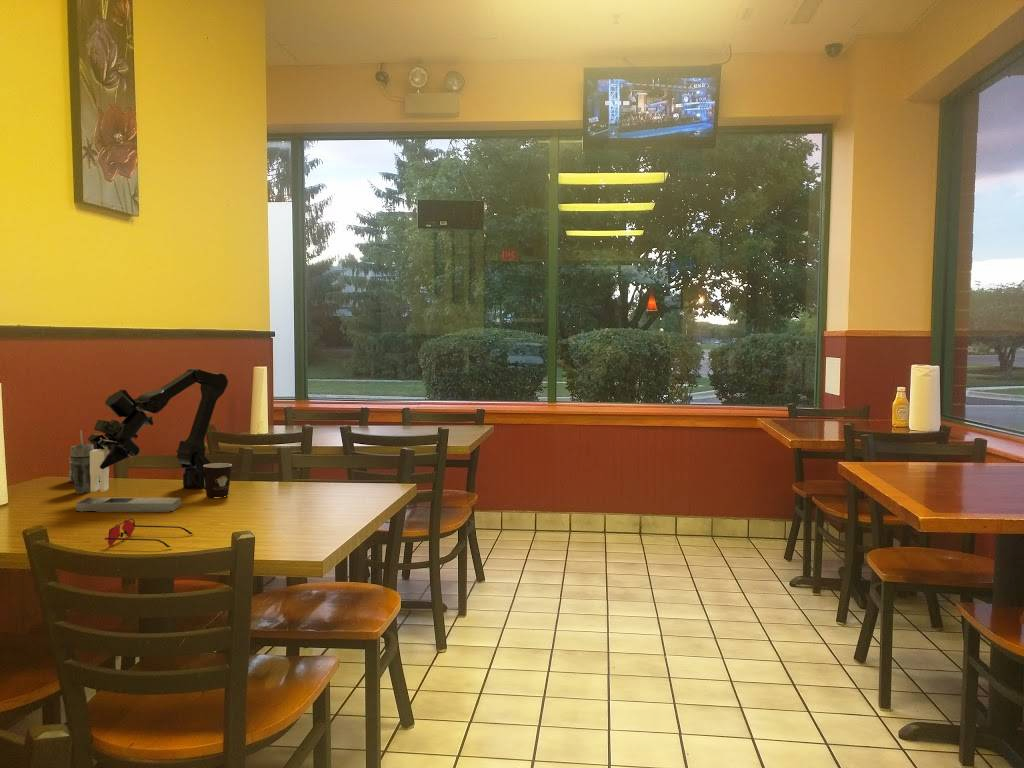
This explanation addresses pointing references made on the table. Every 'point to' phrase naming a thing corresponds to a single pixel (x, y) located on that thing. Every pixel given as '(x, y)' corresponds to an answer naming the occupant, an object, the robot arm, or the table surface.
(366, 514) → the table surface
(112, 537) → the glasses
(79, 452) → the beverage cup
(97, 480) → the clip
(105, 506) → the rail
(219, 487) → the coffee mug
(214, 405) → the robot arm
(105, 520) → the table surface
